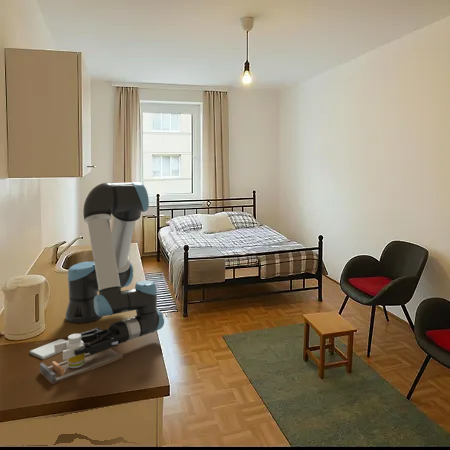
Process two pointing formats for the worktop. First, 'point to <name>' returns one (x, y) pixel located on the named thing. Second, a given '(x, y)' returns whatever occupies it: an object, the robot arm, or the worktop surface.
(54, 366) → the latch plate
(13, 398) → the worktop surface
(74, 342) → the supplement bottle
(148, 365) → the worktop surface
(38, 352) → the external hard drive
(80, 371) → the rail board
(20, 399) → the worktop surface
